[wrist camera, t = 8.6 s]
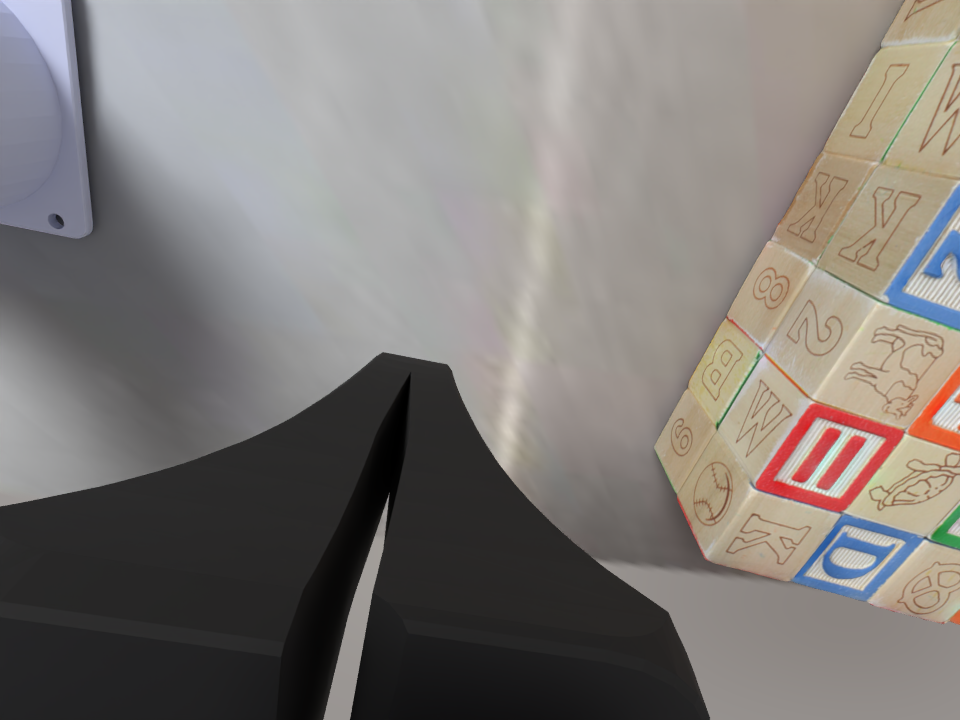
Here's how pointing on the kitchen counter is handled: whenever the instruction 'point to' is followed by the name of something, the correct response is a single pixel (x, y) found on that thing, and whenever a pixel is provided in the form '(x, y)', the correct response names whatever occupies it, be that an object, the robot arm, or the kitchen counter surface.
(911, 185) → the stack of blocks
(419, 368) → the robot arm
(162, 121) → the kitchen counter surface
